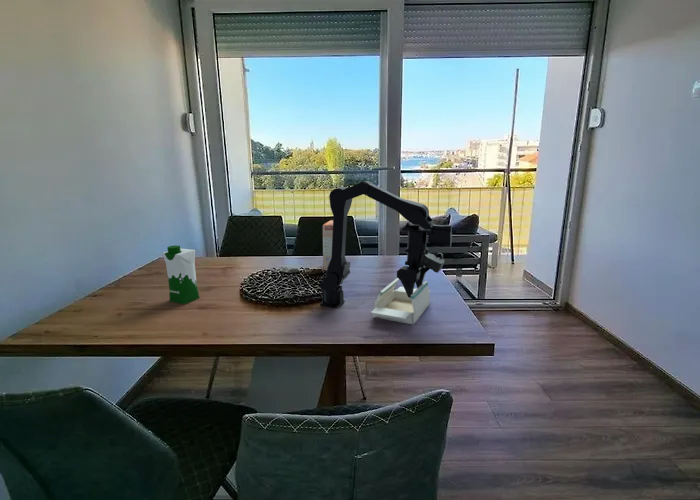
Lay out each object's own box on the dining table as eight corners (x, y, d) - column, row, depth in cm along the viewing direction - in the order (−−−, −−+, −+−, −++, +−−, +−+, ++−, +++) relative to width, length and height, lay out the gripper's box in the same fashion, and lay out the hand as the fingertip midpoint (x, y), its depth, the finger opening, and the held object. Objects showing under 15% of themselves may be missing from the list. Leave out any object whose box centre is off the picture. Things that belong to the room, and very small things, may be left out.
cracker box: (336, 271, 172) (335, 224, 168) (322, 271, 174) (321, 224, 169) (343, 263, 186) (342, 219, 181) (330, 263, 187) (329, 219, 182)
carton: (367, 322, 120) (367, 311, 119) (397, 295, 143) (397, 286, 142) (408, 330, 114) (408, 318, 113) (432, 300, 137) (433, 291, 136)
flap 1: (374, 303, 124) (380, 291, 122) (391, 289, 137) (397, 277, 135) (376, 305, 124) (382, 292, 122) (393, 290, 137) (399, 279, 135)
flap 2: (413, 311, 118) (410, 295, 118) (427, 295, 131) (424, 281, 131) (416, 311, 118) (413, 295, 117) (430, 295, 131) (427, 281, 130)
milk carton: (165, 302, 139) (158, 247, 134) (186, 294, 147) (179, 241, 142) (184, 305, 135) (177, 249, 131) (203, 297, 143) (198, 243, 138)
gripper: (434, 255, 110) (431, 307, 113) (450, 242, 126) (446, 288, 130) (397, 250, 114) (395, 300, 118) (416, 238, 131) (414, 283, 134)
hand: (414, 292), depth 125 cm, fingers open, 9 cm apart
